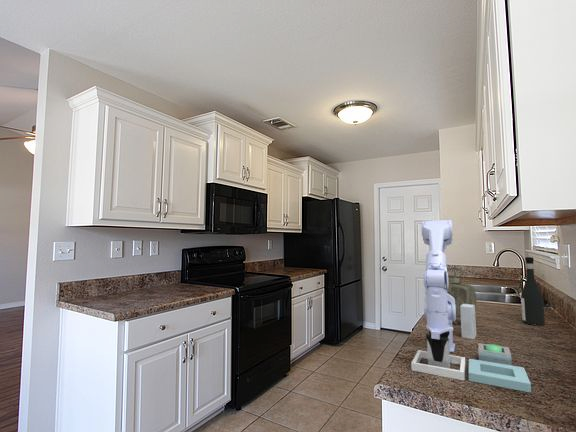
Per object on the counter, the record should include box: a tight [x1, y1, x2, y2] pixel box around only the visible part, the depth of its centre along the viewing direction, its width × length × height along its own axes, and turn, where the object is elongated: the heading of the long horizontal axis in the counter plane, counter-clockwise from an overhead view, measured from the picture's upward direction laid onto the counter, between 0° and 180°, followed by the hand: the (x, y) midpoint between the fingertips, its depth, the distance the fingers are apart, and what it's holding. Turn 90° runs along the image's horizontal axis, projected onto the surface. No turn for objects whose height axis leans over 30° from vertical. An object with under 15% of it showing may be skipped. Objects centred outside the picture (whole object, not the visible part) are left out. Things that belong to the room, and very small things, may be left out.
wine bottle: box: [520, 256, 546, 326], centre depth 144 cm, size 8×8×30 cm
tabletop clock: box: [446, 267, 477, 325], centre depth 143 cm, size 14×9×25 cm, turn 46°
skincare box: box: [460, 304, 477, 340], centre depth 122 cm, size 6×4×12 cm
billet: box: [426, 339, 451, 369], centre depth 91 cm, size 4×6×8 cm
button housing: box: [477, 342, 513, 366], centre depth 95 cm, size 8×8×4 cm
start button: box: [485, 343, 502, 352], centre depth 95 cm, size 4×4×4 cm
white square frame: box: [410, 349, 466, 381], centre depth 91 cm, size 13×13×2 cm
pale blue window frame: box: [468, 358, 532, 393], centre depth 84 cm, size 12×13×2 cm
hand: (438, 358), depth 91 cm, fingers closed on billet, 4 cm apart
